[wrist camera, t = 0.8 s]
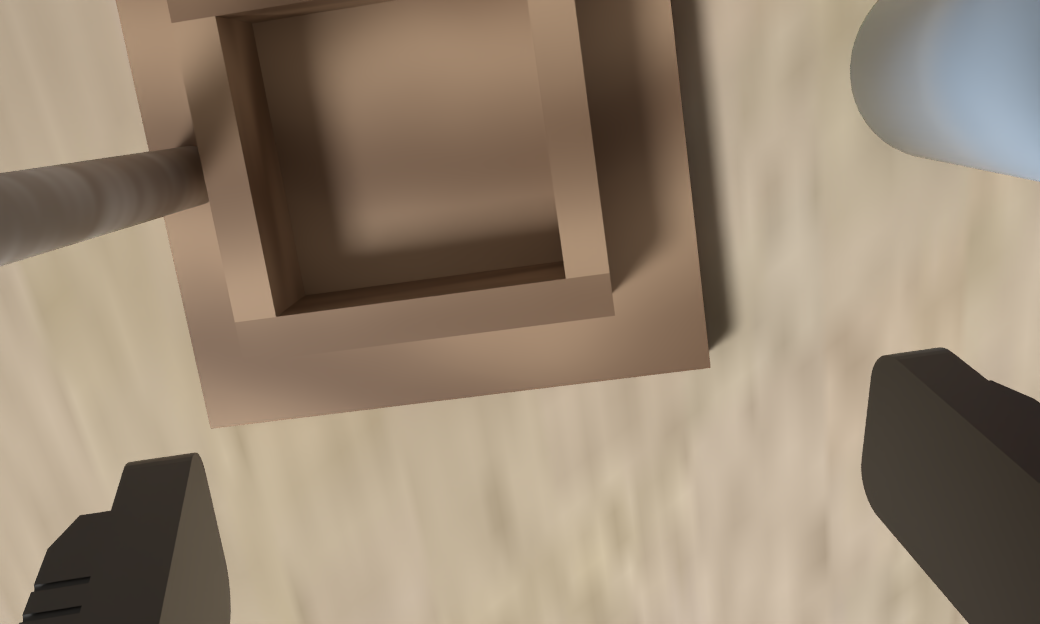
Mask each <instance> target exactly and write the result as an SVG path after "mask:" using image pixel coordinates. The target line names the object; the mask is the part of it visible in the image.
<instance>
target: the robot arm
mask: <svg viewBox="0 0 1040 624" xmlns="http://www.w3.org/2000/svg"><path fill="white" fill-rule="evenodd" d="M861 472H862V480H863V485H864V489H865V493H866V496H867V498H868V501H869V503H870V505H871V507H872V509H873V510H874V512H875V513H876V515H877V516H878V517H879V518H880V520H881V521H882V522H883V523H884V524H885V525H886V527H887V528H888V529H889V530H890V531H891V533H892V534H893V535H894V536H895V537H896V538H897V540H898V541H899V542H900V543H901V544H902V545H903V547H904V548H905V549H906V550H907V551H908V553H909V554H910V555H911V556H912V557H913V558H914V560H915V561H916V562H917V563H918V564H919V565H920V567H921V568H922V569H923V570H924V571H925V573H926V574H927V575H928V576H929V577H930V578H931V580H932V581H933V582H934V583H935V584H936V585H937V587H938V588H939V589H940V590H941V591H942V593H943V594H944V595H945V596H946V597H947V598H948V600H949V601H950V602H951V603H952V604H953V605H954V607H955V608H956V609H957V610H958V611H959V613H960V614H961V615H962V616H963V617H964V618H965V620H966V621H967V622H968V623H969V624H1040V403H1039V402H1038V401H1036V400H1035V399H1033V398H1031V397H1029V396H1026V395H1024V394H1022V393H1019V392H1017V391H1015V390H1012V389H1010V388H1008V387H1005V386H1003V385H1001V384H998V383H996V382H994V381H988V380H987V379H985V378H984V377H983V376H982V375H980V374H979V373H978V372H977V371H975V370H974V369H973V368H971V367H970V366H969V365H968V364H966V363H965V362H964V361H963V360H961V359H960V358H959V357H957V356H956V355H955V354H954V353H952V352H951V351H949V350H948V349H945V348H932V349H925V350H918V351H911V352H904V353H897V354H890V355H884V356H881V357H880V358H879V359H878V360H877V361H876V363H875V365H874V367H873V370H872V375H871V382H870V391H869V400H868V409H867V417H866V426H865V435H864V444H863V453H862V463H861ZM34 589H35V590H34V592H31V594H30V597H29V599H28V602H27V605H26V607H25V610H24V612H23V622H22V623H19V624H230V612H231V609H230V588H229V579H228V572H227V566H226V561H225V556H224V552H223V548H222V543H221V539H220V534H219V530H218V526H217V521H216V517H215V512H214V508H213V504H212V499H211V495H210V490H209V486H208V482H207V477H206V473H205V469H204V465H203V462H202V460H201V457H200V456H199V454H198V453H190V454H183V455H176V456H169V457H162V458H155V459H148V460H141V461H134V462H128V463H127V464H126V465H125V467H124V470H123V473H122V476H121V480H120V483H119V486H118V489H117V493H116V496H115V499H114V502H113V506H112V509H111V511H106V512H100V513H93V514H86V515H80V516H79V517H78V518H77V519H76V520H75V521H74V522H73V523H72V524H71V525H70V526H69V527H68V528H67V529H66V530H65V532H64V533H63V534H62V535H61V536H60V537H59V538H58V539H57V540H56V541H55V542H54V543H53V544H52V545H51V546H50V547H49V548H48V549H47V552H46V555H45V557H44V560H43V563H42V565H41V568H40V570H39V573H38V576H37V578H36V581H35V584H34Z"/></svg>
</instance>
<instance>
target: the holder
mask: <svg viewBox="0 0 1040 624" xmlns="http://www.w3.org/2000/svg"><path fill="white" fill-rule="evenodd" d="M116 4H117V9H118V13H119V18H120V22H121V27H122V31H123V36H124V40H125V45H126V49H127V54H128V58H129V63H130V67H131V72H132V76H133V81H134V85H135V90H136V94H137V99H138V103H139V108H140V112H141V117H142V121H143V126H144V130H145V135H146V139H147V144H148V148H149V152H143V153H136V154H130V155H123V156H116V157H109V158H102V159H95V160H88V161H81V162H75V163H68V164H61V165H54V166H47V167H40V168H33V169H26V170H20V171H13V172H6V173H0V266H3V265H6V264H10V263H13V262H16V261H19V260H23V259H26V258H29V257H33V256H36V255H39V254H42V253H46V252H49V251H52V250H55V249H59V248H62V247H65V246H69V245H72V244H75V243H78V242H82V241H85V240H88V239H92V238H95V237H98V236H101V235H105V234H108V233H111V232H114V231H118V230H121V229H124V228H128V227H131V226H134V225H137V224H141V223H144V222H147V221H150V220H154V219H157V218H160V217H164V220H165V225H166V229H167V234H168V238H169V243H170V247H171V252H172V256H173V261H174V265H175V270H176V274H177V279H178V283H179V288H180V292H181V297H182V301H183V306H184V310H185V315H186V319H187V324H188V328H189V333H190V337H191V342H192V346H193V351H194V355H195V360H196V364H197V369H198V373H199V378H200V382H201V387H202V391H203V396H204V400H205V405H206V409H207V414H208V418H209V423H210V427H211V429H212V428H220V427H228V426H236V425H245V424H253V423H261V422H269V421H277V420H286V419H294V418H302V417H310V416H318V415H327V414H335V413H343V412H351V411H359V410H368V409H376V408H384V407H392V406H400V405H409V404H417V403H425V402H433V401H441V400H450V399H458V398H466V397H474V396H482V395H491V394H499V393H507V392H515V391H523V390H532V389H540V388H548V387H556V386H564V385H573V384H581V383H589V382H597V381H605V380H614V379H622V378H630V377H638V376H646V375H655V374H663V373H671V372H679V371H687V370H696V369H704V368H711V367H710V358H709V349H708V340H707V331H706V322H705V312H704V303H703V294H702V285H701V276H700V267H699V257H698V248H697V239H696V230H695V221H694V212H693V202H692V193H691V184H690V175H689V166H688V157H687V147H686V138H685V129H684V120H683V111H682V102H681V92H680V83H679V74H678V65H677V56H676V47H675V38H674V28H673V19H672V10H671V1H670V0H116Z"/></svg>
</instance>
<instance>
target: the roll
mask: <svg viewBox="0 0 1040 624" xmlns="http://www.w3.org/2000/svg"><path fill="white" fill-rule="evenodd" d="M850 79H851V86H852V92H853V95H854V99H855V102H856V105H857V107H858V109H859V112H860V114H861V115H862V117H863V119H864V120H865V122H866V123H867V125H868V126H869V127H870V128H871V129H872V131H873V132H874V133H875V134H876V135H877V136H878V137H880V138H881V139H882V140H883V141H884V142H886V143H887V144H889V145H890V146H892V147H893V148H895V149H898V150H900V151H902V152H904V153H907V154H910V155H913V156H917V157H922V158H926V159H931V160H936V161H941V162H946V163H951V164H956V165H961V166H966V167H970V168H975V169H980V170H985V171H990V172H995V173H1000V174H1005V175H1010V176H1014V177H1019V178H1024V179H1029V180H1034V181H1039V182H1040V0H878V2H877V3H876V4H875V5H874V6H873V7H872V9H871V10H870V12H869V13H868V15H867V16H866V18H865V19H864V21H863V23H862V25H861V27H860V29H859V31H858V34H857V37H856V39H855V42H854V46H853V50H852V55H851V64H850Z"/></svg>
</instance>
